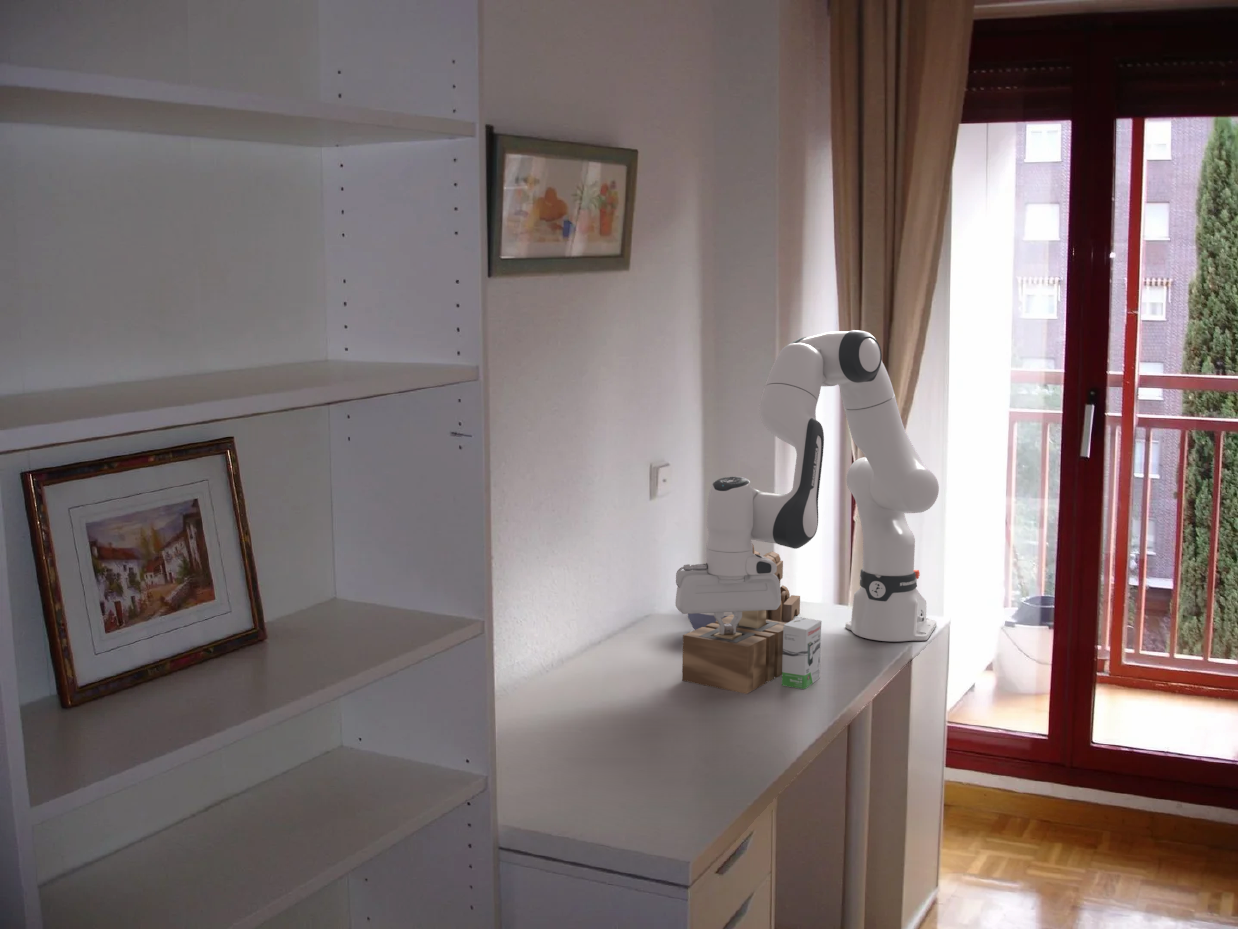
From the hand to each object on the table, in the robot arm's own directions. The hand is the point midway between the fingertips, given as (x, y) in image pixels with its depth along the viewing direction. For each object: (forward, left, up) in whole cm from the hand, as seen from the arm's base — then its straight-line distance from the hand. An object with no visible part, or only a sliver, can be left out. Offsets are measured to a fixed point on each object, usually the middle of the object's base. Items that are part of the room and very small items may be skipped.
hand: (727, 633), depth 234 cm
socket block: (-5, 0, -9) cm, 11 cm away
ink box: (-8, +12, -10) cm, 17 cm away
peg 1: (0, 0, -9) cm, 9 cm away
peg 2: (-10, 0, -3) cm, 11 cm away
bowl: (-27, -16, -10) cm, 32 cm away
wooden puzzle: (-49, -21, -10) cm, 54 cm away
